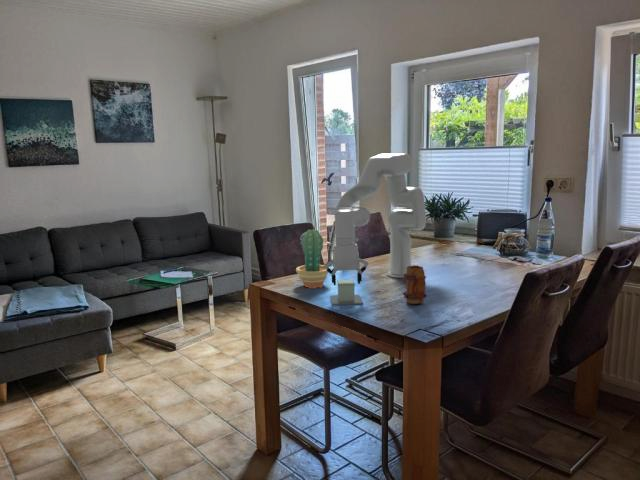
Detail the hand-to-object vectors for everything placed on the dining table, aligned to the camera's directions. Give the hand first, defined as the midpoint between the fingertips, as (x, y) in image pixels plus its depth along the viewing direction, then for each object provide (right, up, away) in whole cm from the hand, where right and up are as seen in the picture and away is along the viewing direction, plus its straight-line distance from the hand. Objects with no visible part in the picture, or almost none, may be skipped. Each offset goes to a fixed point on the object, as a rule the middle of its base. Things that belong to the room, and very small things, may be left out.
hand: (346, 283), depth 198 cm
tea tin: (0, -6, +1) cm, 6 cm away
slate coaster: (0, -7, +1) cm, 7 cm away
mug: (+26, -8, -7) cm, 28 cm away
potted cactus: (-13, -3, +25) cm, 28 cm away
